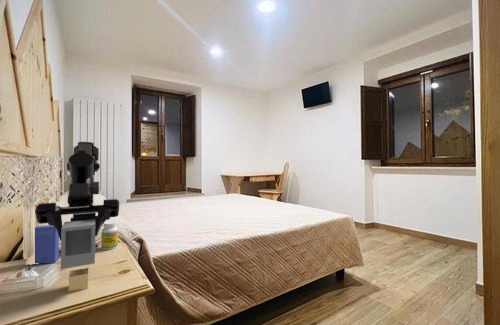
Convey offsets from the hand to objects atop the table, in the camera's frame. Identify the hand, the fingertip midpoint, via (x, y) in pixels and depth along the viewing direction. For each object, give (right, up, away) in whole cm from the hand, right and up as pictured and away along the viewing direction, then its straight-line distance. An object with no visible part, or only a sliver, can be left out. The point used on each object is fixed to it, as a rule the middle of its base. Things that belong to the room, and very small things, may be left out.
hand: (79, 237), depth 64 cm
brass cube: (-1, -13, +1) cm, 13 cm away
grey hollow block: (-1, -7, +1) cm, 7 cm away
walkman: (-23, -13, +16) cm, 31 cm away
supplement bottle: (-9, -13, +30) cm, 34 cm away
